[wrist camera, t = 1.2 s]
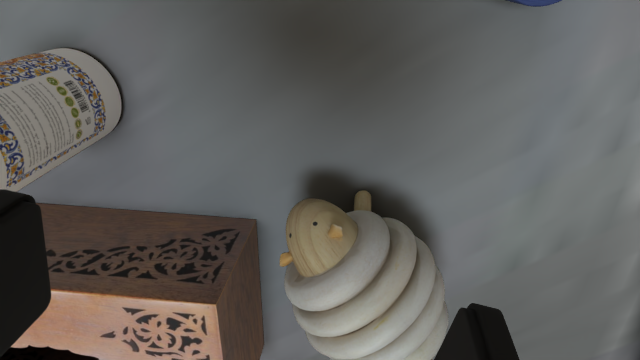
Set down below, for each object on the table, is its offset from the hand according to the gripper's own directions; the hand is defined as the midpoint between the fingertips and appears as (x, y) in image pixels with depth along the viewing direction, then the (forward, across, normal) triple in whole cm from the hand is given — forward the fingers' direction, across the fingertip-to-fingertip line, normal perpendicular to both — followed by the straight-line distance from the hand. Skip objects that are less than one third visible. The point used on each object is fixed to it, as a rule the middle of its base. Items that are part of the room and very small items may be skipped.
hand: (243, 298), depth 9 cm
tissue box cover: (+22, +15, +23) cm, 35 cm away
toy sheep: (+22, -6, +13) cm, 27 cm away
